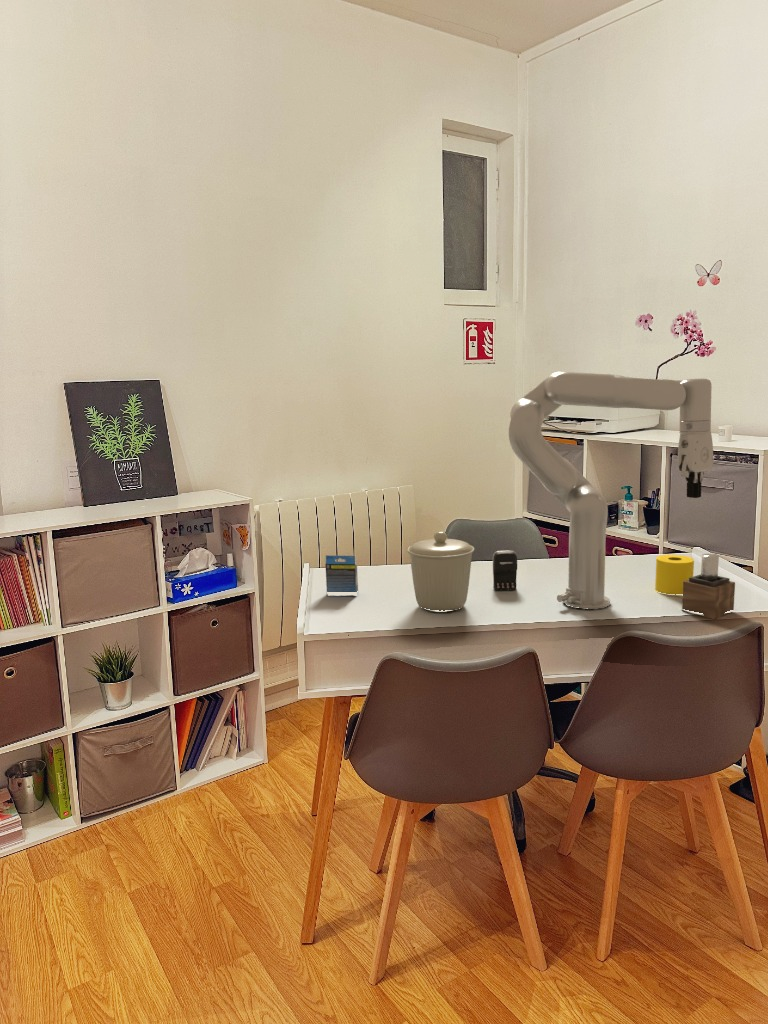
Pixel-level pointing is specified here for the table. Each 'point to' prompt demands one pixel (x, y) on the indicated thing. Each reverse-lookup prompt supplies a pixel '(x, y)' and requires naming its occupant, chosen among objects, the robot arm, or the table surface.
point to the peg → (709, 567)
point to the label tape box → (341, 574)
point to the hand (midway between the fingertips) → (693, 497)
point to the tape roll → (673, 573)
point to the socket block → (708, 596)
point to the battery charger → (504, 570)
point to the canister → (441, 572)
